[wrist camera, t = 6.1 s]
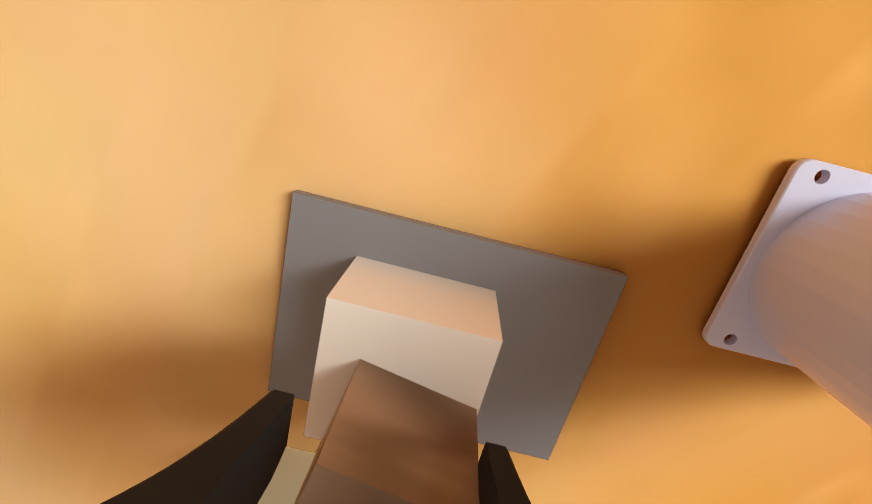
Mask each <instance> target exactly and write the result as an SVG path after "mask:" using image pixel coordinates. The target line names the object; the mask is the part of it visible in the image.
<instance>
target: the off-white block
mask: <svg viewBox="0 0 872 504" xmlns="http://www.w3.org/2000/svg"><path fill="white" fill-rule="evenodd" d="M502 342H503V340H502V333H501V326H500V319H499V312H498V305H497V298H496V291H494V290H490V289H486V288H482V287H478V286H475V285H471V284H467V283H463V282H459V281H455V280H451V279H447V278H443V277H439V276H435V275H431V274H427V273H423V272H419V271H415V270H411V269H407V268H403V267H399V266H395V265H391V264H387V263H383V262H379V261H375V260H371V259H367V258H363V257H360V256H356V258H355V259H354V260H353V262H352V263H351V265H350V266H349V267H348V269H347V270H346V271H345V273H344V274H343V276H342V277H341V278H340V280H339V281H338V282H337V284H336V285H335V287H334V288H333V289H332V291H331V292H330V294H329V295H328V296H327V299H326V305H325V311H324V317H323V323H322V329H321V334H320V340H319V346H318V352H317V358H316V364H315V370H314V376H313V382H312V388H311V394H310V400H309V406H308V412H307V418H306V424H305V430H304V436H306V437H310V438H314V439H318V440H322V439H323V437H324V434H325V432H326V430H327V428H328V426H329V424H330V422H331V420H332V417H333V415H334V413H335V411H336V409H337V407H338V405H339V403H340V401H341V398H342V396H343V394H344V392H345V390H346V388H347V386H348V384H349V381H350V379H351V377H352V375H353V373H354V371H355V369H356V367H357V365H358V362H359V360H360V359H362V360H364V361H366V362H369V363H371V364H373V365H375V366H378V367H380V368H382V369H385V370H387V371H389V372H392V373H394V374H396V375H399V376H401V377H403V378H406V379H408V380H410V381H412V382H415V383H417V384H419V385H422V386H424V387H426V388H429V389H431V390H433V391H436V392H438V393H440V394H443V395H445V396H447V397H449V398H452V399H454V400H456V401H459V402H461V403H463V404H466V405H468V406H470V407H473V408H475V409H477V415H478V412H479V409H480V406H481V403H482V400H483V397H484V394H485V392H486V389H487V386H488V383H489V380H490V377H491V374H492V371H493V368H494V365H495V363H496V360H497V357H498V354H499V351H500V348H501V345H502Z"/></svg>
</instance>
